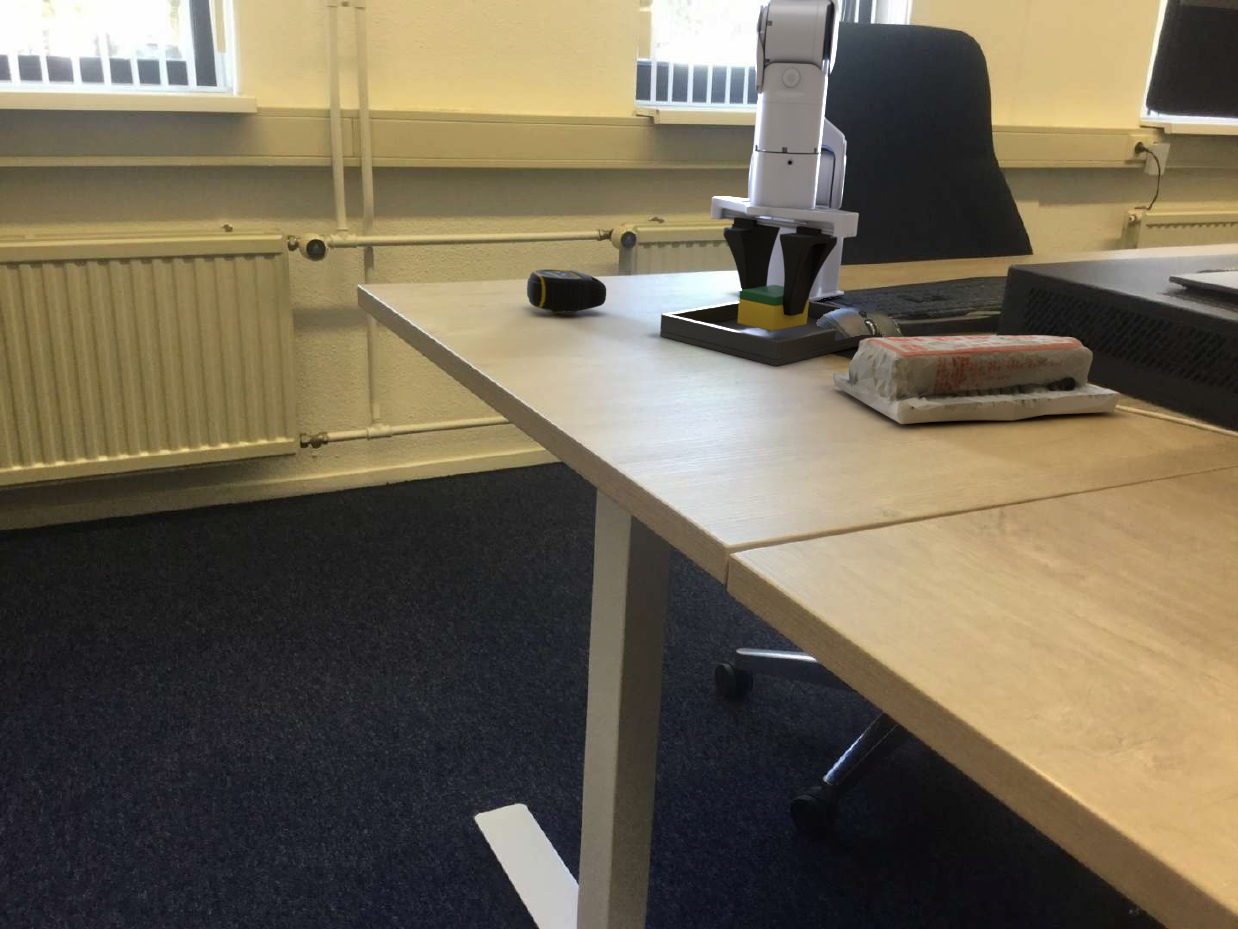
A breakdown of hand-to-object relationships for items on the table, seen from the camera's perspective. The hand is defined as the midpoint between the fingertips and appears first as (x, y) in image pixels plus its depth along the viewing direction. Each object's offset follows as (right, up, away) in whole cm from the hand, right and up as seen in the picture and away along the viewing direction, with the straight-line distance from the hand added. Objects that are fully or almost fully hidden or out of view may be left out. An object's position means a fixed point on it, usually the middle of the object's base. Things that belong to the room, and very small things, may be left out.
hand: (772, 309), depth 93 cm
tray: (+1, -2, +2) cm, 3 cm away
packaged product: (+12, -9, -16) cm, 23 cm away
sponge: (0, -1, 0) cm, 1 cm away
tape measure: (-19, +1, +10) cm, 21 cm away
